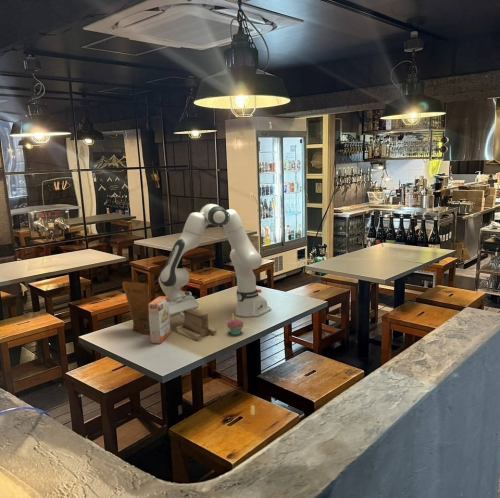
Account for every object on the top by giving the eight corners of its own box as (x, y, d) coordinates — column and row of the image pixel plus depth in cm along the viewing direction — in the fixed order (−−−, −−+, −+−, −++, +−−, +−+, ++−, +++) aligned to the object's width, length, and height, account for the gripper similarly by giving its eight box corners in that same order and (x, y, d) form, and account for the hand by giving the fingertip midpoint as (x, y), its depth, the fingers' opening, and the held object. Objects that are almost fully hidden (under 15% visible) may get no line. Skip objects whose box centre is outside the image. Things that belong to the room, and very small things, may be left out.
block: (193, 329, 248) (191, 307, 246) (208, 335, 238) (207, 313, 236) (185, 331, 245) (184, 310, 242) (201, 338, 235) (199, 316, 232)
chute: (194, 325, 253) (194, 321, 253) (216, 334, 239) (216, 329, 238) (176, 331, 245) (175, 327, 245) (198, 341, 231) (197, 336, 230)
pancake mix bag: (147, 337, 238) (143, 285, 233) (125, 329, 250) (120, 280, 245) (157, 333, 244) (153, 282, 238) (135, 326, 255) (131, 277, 250)
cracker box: (161, 344, 229) (158, 304, 225) (150, 343, 230) (147, 303, 226) (171, 333, 242) (169, 296, 238) (161, 333, 243) (158, 295, 239)
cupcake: (237, 337, 234) (236, 315, 232) (224, 334, 238) (223, 312, 236) (246, 331, 241) (245, 310, 239) (233, 329, 246) (232, 307, 243)
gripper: (161, 299, 243) (173, 321, 237) (193, 291, 256) (204, 311, 251) (157, 305, 247) (169, 327, 241) (188, 297, 260) (200, 317, 255)
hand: (187, 319), depth 246 cm, fingers closed
